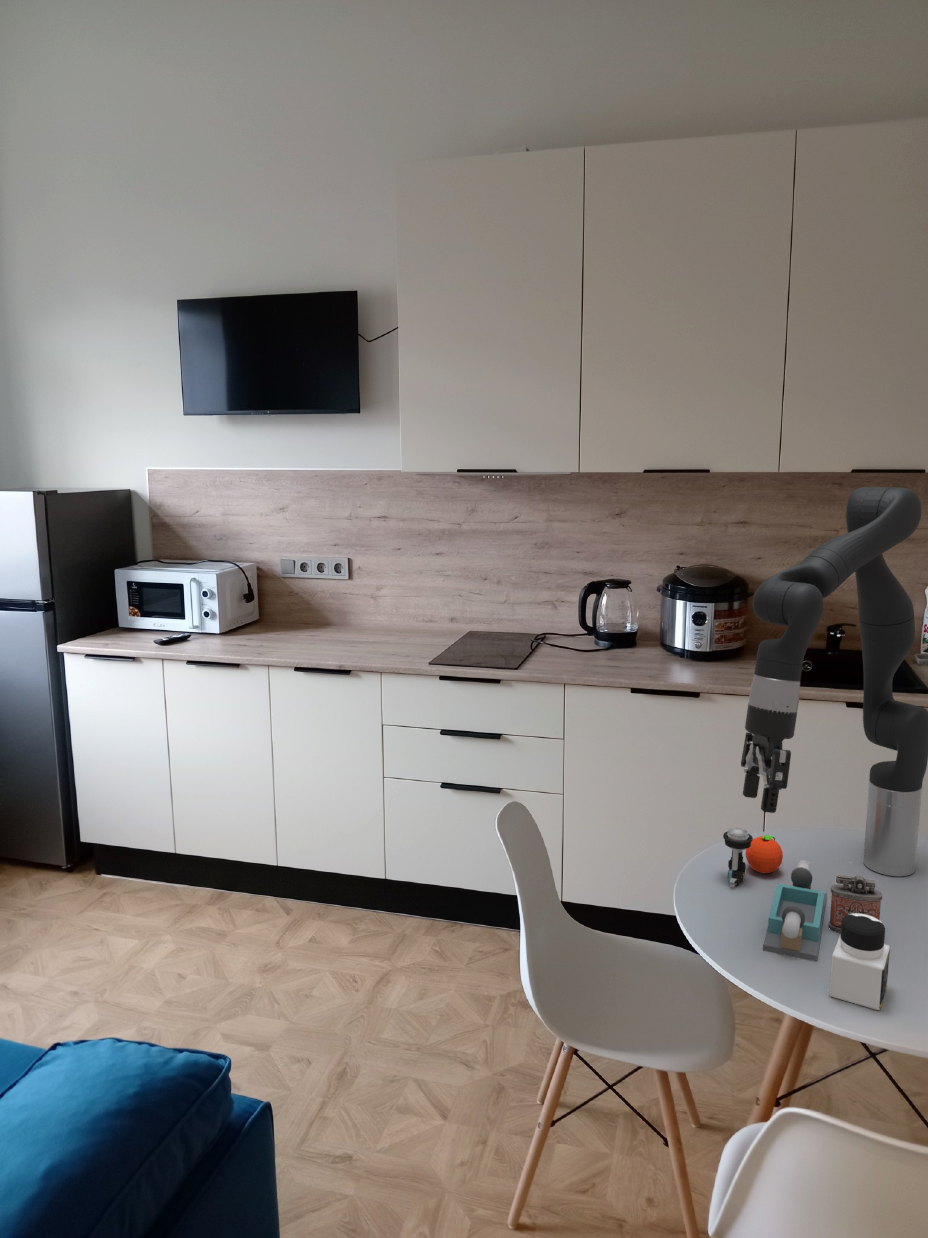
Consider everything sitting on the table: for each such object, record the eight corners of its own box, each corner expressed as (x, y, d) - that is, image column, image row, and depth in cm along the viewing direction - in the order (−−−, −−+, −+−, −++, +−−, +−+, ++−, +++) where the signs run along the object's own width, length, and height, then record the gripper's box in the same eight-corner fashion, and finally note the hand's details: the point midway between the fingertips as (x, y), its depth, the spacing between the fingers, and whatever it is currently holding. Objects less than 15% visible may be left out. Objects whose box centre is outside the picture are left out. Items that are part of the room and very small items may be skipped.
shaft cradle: (778, 886, 169) (780, 853, 168) (826, 895, 166) (829, 861, 164) (761, 954, 148) (763, 916, 146) (816, 965, 144) (819, 927, 143)
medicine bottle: (880, 1012, 132) (886, 938, 130) (828, 997, 136) (833, 925, 134) (887, 987, 138) (892, 915, 136) (837, 973, 142) (842, 903, 140)
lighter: (878, 929, 154) (882, 875, 152) (880, 939, 151) (884, 885, 149) (827, 922, 157) (831, 869, 155) (828, 932, 154) (832, 878, 152)
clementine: (757, 857, 181) (759, 824, 179) (790, 868, 176) (792, 834, 175) (738, 871, 175) (739, 838, 174) (772, 883, 171) (773, 848, 169)
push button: (745, 892, 167) (747, 842, 165) (716, 886, 170) (718, 837, 168) (753, 877, 173) (755, 829, 171) (725, 871, 176) (727, 823, 174)
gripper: (814, 716, 136) (798, 820, 138) (779, 700, 151) (765, 794, 152) (765, 710, 136) (750, 814, 137) (735, 695, 150) (721, 790, 152)
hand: (758, 804), depth 145 cm, fingers open, 8 cm apart
